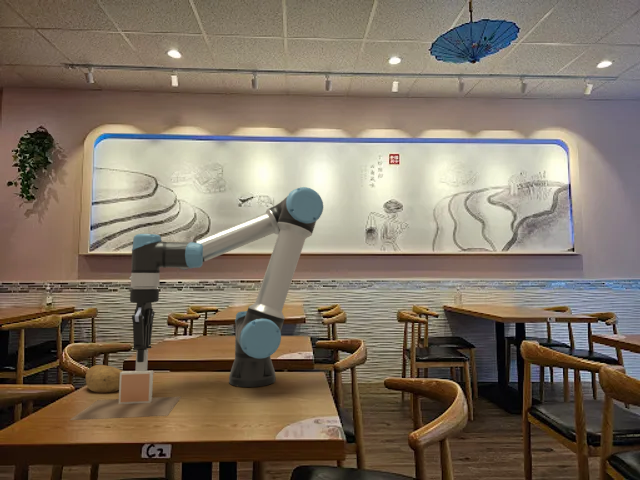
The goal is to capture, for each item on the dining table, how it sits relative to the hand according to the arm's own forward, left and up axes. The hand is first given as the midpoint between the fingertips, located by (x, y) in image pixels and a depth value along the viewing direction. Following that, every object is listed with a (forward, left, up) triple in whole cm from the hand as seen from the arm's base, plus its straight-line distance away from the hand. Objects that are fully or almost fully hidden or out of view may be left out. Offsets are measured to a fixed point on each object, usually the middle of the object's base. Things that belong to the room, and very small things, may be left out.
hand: (141, 373), depth 113 cm
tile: (0, +5, -7) cm, 8 cm away
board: (0, +9, -8) cm, 12 cm away
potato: (+13, -10, -8) cm, 18 cm away
